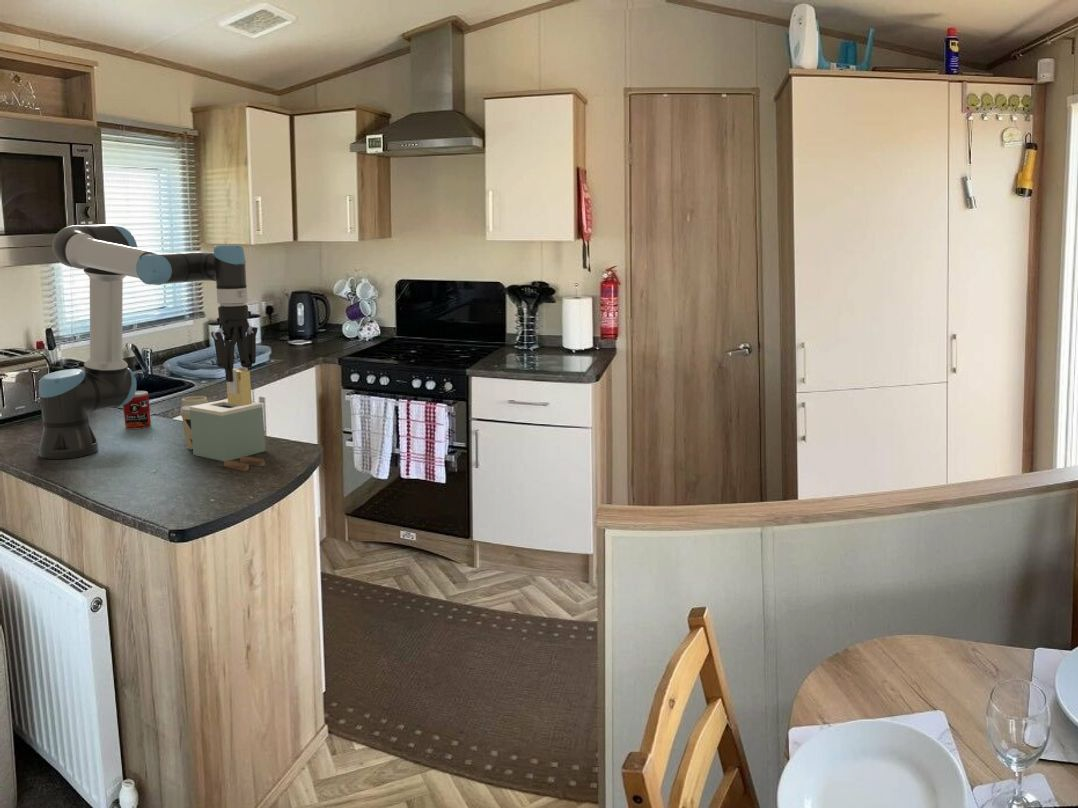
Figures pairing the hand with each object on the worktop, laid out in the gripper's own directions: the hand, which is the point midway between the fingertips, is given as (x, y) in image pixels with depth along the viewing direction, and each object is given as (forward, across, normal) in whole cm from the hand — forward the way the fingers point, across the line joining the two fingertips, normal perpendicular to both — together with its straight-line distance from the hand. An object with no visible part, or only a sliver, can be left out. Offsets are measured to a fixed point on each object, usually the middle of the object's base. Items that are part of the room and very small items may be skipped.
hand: (239, 392), depth 244 cm
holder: (+20, 0, 0) cm, 20 cm away
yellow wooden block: (+3, 0, 0) cm, 3 cm away
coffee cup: (+21, +7, +28) cm, 36 cm away
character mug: (+21, +11, +35) cm, 42 cm away
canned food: (+21, +13, +68) cm, 72 cm away
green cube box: (+20, +7, +15) cm, 26 cm away
